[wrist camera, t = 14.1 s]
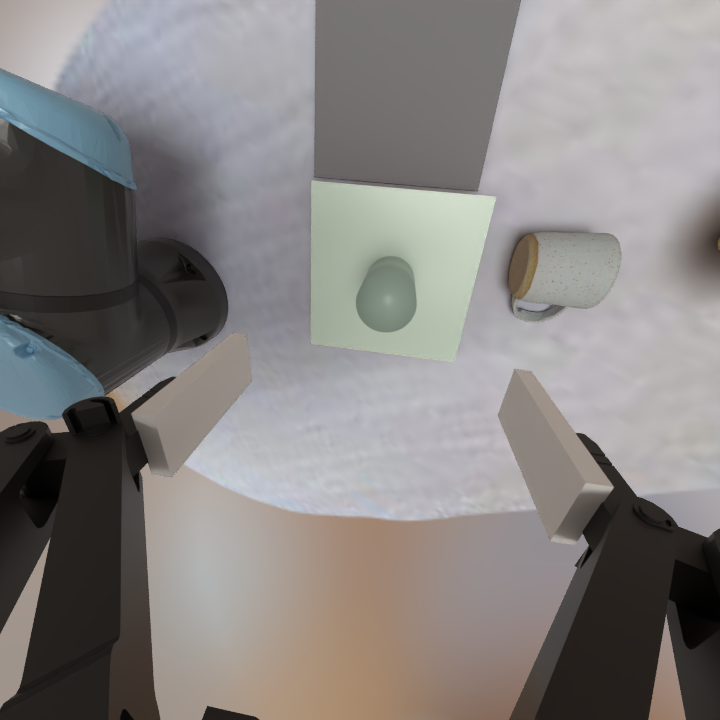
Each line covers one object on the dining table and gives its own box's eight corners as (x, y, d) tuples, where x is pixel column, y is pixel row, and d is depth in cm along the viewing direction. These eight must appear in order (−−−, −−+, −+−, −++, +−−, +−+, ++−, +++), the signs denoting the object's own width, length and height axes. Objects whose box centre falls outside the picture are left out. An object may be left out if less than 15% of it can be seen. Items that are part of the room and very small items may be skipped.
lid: (313, 339, 38) (288, 378, 30) (314, 181, 30) (281, 175, 22) (452, 357, 37) (466, 402, 29) (493, 196, 29) (526, 197, 21)
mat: (315, 177, 35) (314, 176, 35) (317, -64, 27) (316, -69, 26) (476, 191, 34) (477, 190, 34) (532, -59, 26) (535, -63, 25)
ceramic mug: (515, 227, 35) (540, 236, 29) (592, 229, 34) (637, 239, 28) (494, 315, 40) (511, 341, 34) (561, 319, 40) (593, 346, 33)
